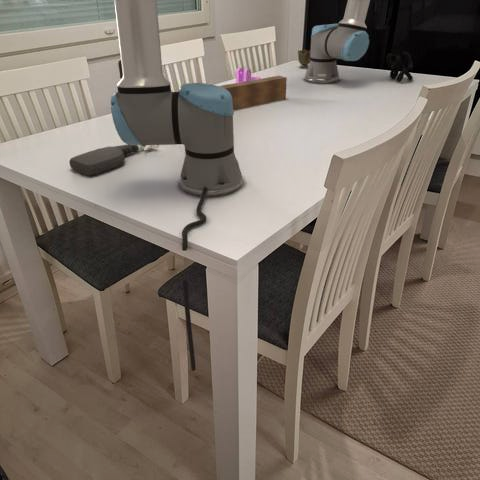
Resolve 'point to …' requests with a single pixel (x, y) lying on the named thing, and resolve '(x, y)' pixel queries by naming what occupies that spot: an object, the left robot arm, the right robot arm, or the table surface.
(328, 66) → the right robot arm
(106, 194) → the table surface
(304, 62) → the cup
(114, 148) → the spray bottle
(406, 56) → the squiggle
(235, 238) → the table surface
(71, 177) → the table surface
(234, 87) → the bar
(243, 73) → the bracket
